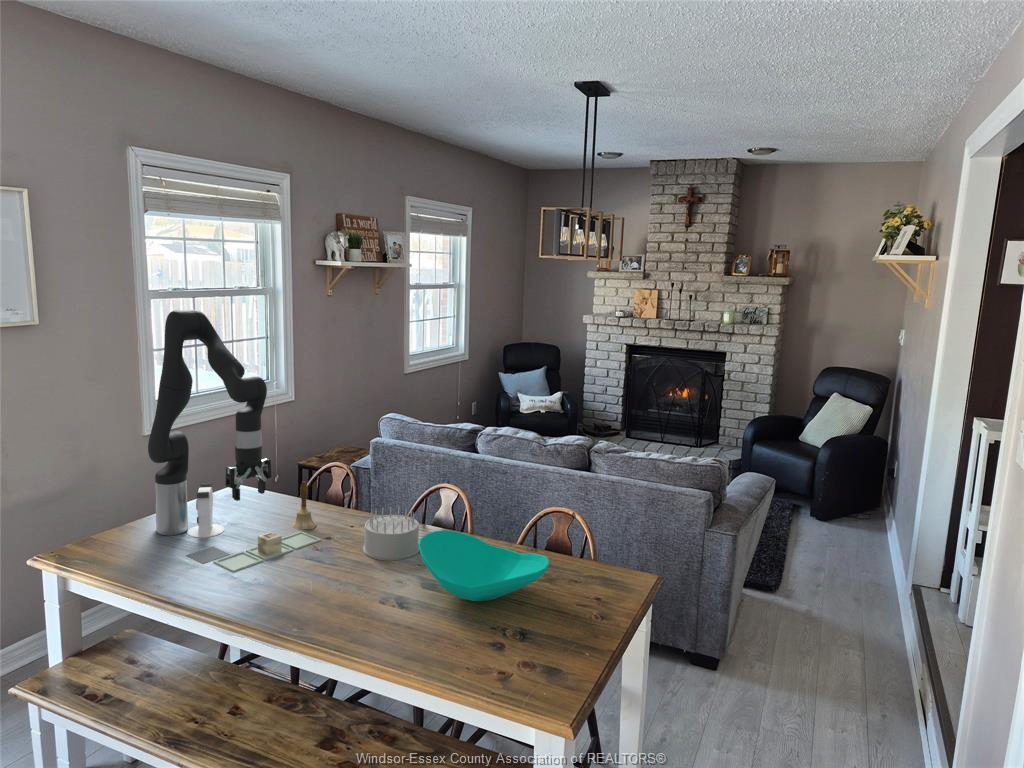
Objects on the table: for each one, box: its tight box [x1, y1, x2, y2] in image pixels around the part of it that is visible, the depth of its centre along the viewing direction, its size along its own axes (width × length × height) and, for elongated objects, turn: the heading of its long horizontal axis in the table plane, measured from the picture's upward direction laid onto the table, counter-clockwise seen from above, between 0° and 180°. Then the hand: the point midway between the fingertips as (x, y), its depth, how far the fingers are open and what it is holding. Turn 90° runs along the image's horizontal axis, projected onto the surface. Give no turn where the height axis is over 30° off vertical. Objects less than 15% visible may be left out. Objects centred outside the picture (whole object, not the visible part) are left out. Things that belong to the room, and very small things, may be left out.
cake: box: [362, 506, 420, 562], centre depth 227 cm, size 18×18×13 cm
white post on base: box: [186, 482, 225, 539], centre depth 234 cm, size 12×11×15 cm
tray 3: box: [282, 531, 322, 551], centre depth 230 cm, size 10×10×1 cm
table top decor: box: [418, 529, 550, 602], centre depth 198 cm, size 40×28×13 cm
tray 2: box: [245, 544, 294, 561], centre depth 221 cm, size 10×10×1 cm
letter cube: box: [257, 531, 283, 555], centre depth 220 cm, size 5×5×5 cm
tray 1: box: [212, 550, 264, 573], centre depth 212 cm, size 10×10×1 cm
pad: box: [185, 546, 231, 565], centre depth 216 cm, size 9×9×1 cm
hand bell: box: [291, 480, 317, 530], centre depth 242 cm, size 8×8×16 cm
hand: (249, 496), depth 212 cm, fingers open, 8 cm apart
